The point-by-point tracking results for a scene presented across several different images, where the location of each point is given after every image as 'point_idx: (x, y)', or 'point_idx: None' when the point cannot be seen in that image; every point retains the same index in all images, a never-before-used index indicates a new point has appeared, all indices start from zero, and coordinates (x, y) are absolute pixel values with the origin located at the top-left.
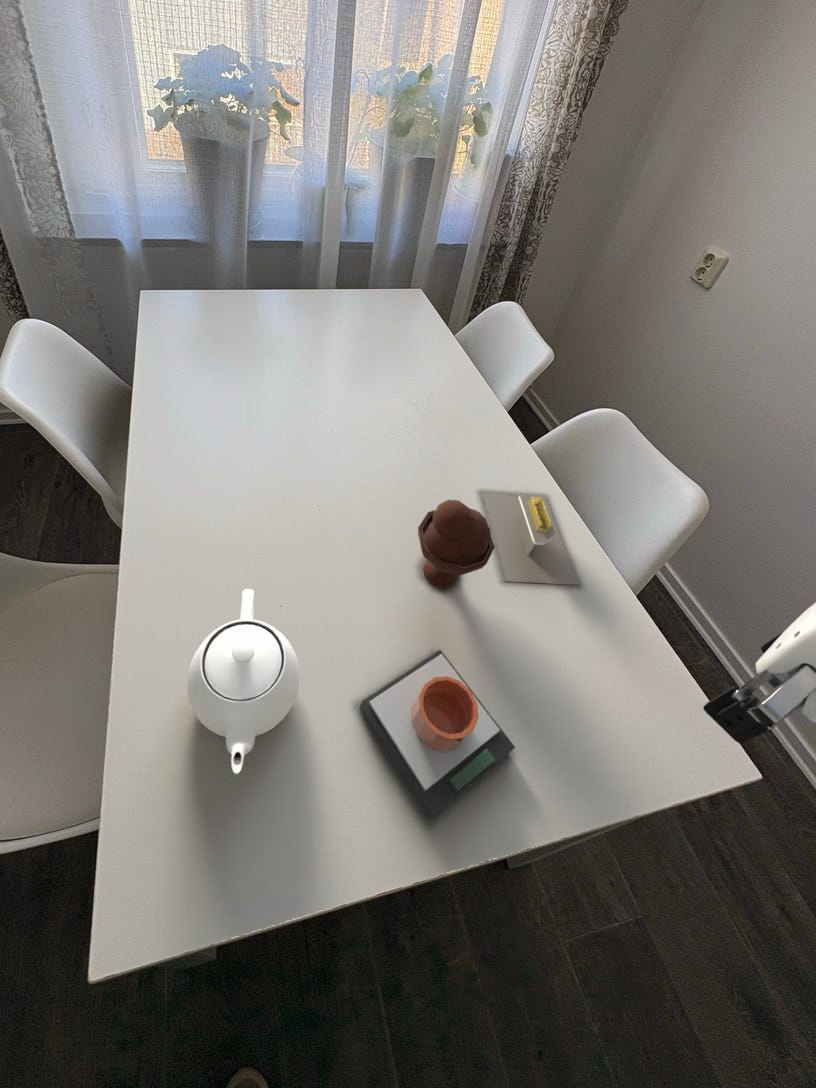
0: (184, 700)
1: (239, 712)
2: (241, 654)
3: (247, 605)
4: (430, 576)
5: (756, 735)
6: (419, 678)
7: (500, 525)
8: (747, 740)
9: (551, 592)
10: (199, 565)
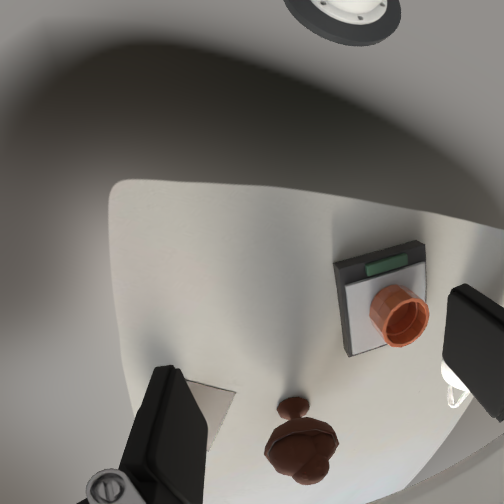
0: None
1: None
2: None
3: (463, 399)
4: (307, 407)
5: (497, 306)
6: (382, 339)
7: (208, 429)
8: (478, 291)
9: (194, 374)
10: (440, 413)
